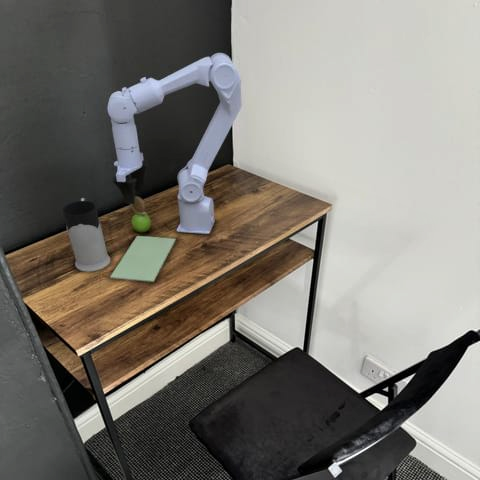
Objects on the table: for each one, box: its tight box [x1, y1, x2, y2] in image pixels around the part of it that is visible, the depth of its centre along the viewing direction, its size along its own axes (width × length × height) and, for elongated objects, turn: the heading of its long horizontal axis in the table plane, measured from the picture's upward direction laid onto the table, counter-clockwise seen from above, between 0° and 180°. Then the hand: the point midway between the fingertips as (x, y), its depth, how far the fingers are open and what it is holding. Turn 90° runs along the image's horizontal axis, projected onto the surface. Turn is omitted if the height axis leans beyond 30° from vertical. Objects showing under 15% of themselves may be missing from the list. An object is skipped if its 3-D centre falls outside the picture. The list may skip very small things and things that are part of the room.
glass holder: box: [62, 197, 111, 272], centre depth 115 cm, size 9×14×15 cm, turn 11°
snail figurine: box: [129, 196, 152, 233], centre depth 126 cm, size 5×6×12 cm
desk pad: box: [109, 235, 177, 283], centre depth 119 cm, size 11×20×1 cm, turn 171°
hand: (135, 196), depth 123 cm, fingers open, 7 cm apart
